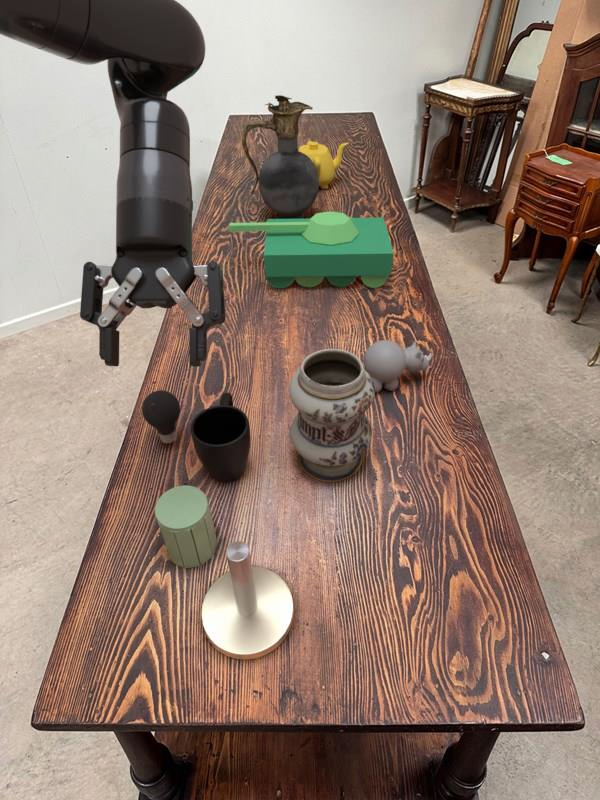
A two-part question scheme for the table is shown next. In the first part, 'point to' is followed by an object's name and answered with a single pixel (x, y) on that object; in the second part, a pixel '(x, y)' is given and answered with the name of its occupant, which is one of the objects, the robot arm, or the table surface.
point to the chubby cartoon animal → (392, 362)
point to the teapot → (323, 161)
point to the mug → (222, 440)
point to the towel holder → (247, 608)
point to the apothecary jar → (331, 414)
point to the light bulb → (162, 413)
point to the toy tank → (324, 250)
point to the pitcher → (285, 164)
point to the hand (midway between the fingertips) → (153, 365)
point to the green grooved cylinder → (186, 526)
